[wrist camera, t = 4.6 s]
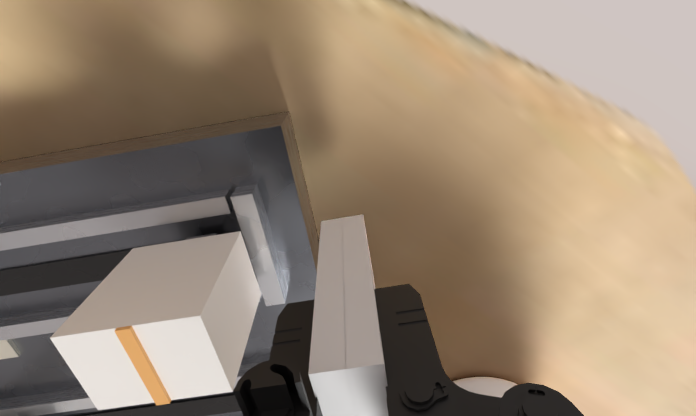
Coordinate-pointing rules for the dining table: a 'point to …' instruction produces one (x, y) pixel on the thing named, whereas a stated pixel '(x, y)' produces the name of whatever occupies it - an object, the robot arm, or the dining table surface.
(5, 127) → the dining table surface
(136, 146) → the dark grey slotted tray
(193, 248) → the fader
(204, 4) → the dining table surface
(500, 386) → the jar
